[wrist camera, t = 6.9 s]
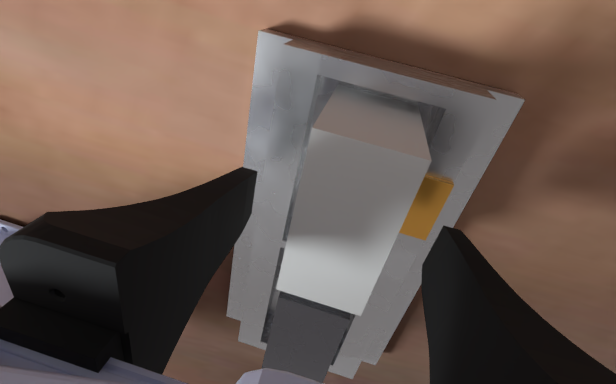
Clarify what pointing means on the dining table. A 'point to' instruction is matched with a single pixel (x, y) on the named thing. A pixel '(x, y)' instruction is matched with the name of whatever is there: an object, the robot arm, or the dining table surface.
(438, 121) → the slotted base
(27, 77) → the dining table surface
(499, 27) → the dining table surface
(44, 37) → the dining table surface
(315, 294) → the white rectangular block
